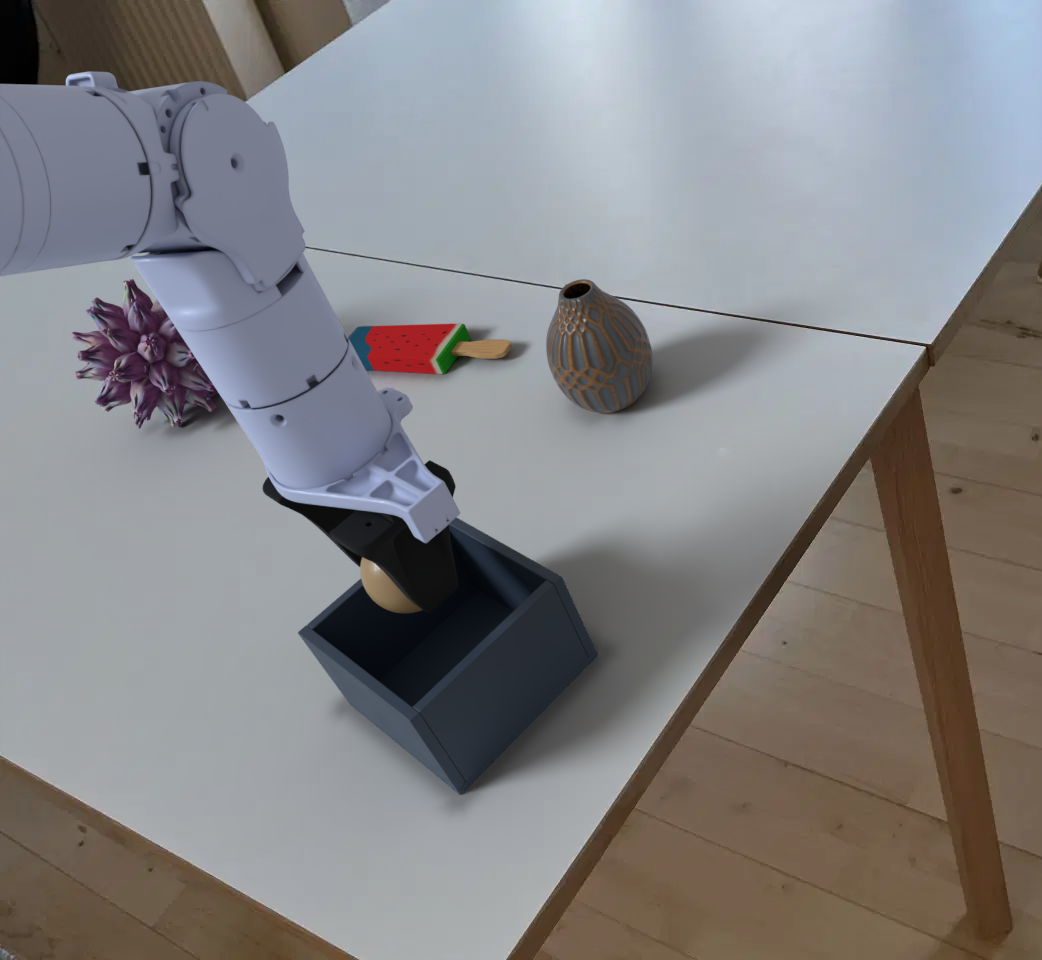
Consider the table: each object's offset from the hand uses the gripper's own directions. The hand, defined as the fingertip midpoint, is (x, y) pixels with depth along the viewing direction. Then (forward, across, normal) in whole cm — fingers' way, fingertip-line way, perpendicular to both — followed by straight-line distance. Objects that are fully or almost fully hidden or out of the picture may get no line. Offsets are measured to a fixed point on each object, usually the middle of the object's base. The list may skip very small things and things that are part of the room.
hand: (412, 579), depth 55 cm
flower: (+8, +43, -5) cm, 44 cm away
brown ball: (+1, 0, 0) cm, 1 cm away
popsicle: (+8, +28, -19) cm, 35 cm away
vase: (+8, +10, -22) cm, 26 cm away
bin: (+8, 0, 0) cm, 8 cm away
